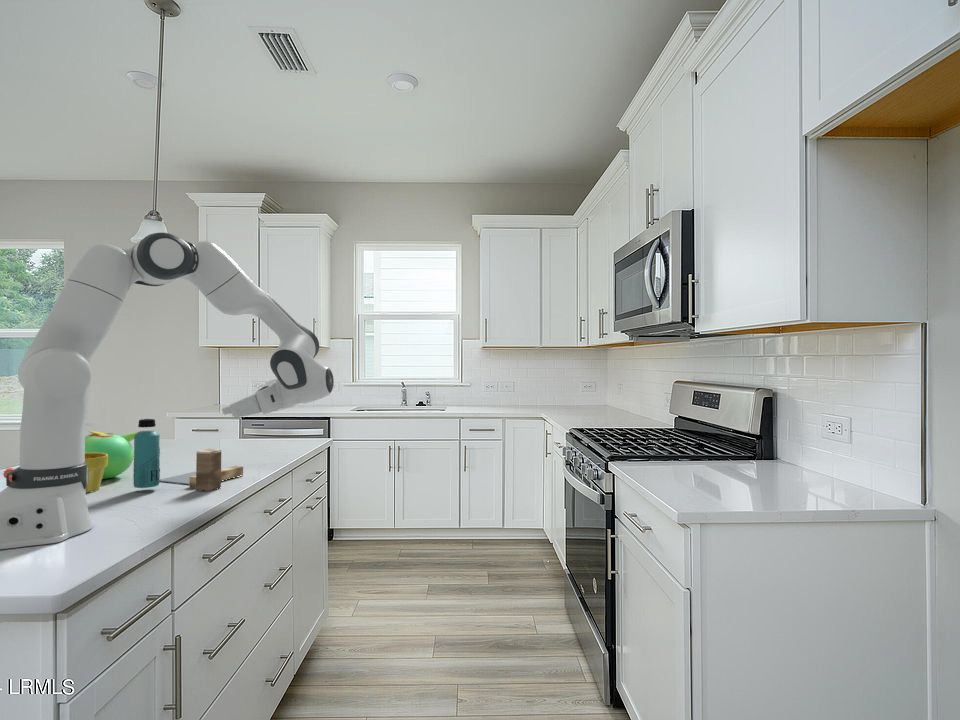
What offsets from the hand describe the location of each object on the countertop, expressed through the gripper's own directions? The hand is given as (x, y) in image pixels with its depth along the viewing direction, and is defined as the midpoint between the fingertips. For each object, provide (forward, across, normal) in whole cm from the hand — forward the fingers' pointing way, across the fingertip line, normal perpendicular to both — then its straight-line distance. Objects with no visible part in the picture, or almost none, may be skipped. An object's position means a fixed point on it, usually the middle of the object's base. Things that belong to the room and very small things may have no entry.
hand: (232, 406), depth 159 cm
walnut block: (+14, +3, +21) cm, 25 cm away
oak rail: (+17, -7, +21) cm, 28 cm away
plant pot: (+44, +9, +11) cm, 46 cm away
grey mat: (+25, -9, +19) cm, 33 cm away
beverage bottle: (+28, +7, +16) cm, 33 cm away
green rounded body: (+51, -6, +12) cm, 53 cm away
